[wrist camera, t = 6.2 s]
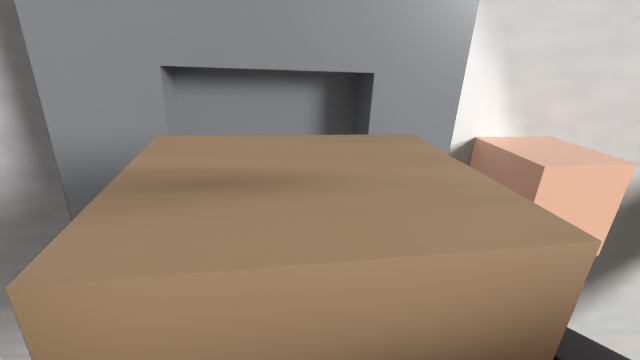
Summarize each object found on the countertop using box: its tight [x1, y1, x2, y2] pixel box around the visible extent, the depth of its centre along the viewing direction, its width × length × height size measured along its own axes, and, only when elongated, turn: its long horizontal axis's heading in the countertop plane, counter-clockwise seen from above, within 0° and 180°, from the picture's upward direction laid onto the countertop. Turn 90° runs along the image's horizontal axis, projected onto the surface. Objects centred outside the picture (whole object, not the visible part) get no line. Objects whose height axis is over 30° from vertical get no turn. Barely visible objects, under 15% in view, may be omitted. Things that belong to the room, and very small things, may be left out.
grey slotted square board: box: [14, 0, 479, 220], centre depth 16 cm, size 16×16×3 cm
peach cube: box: [469, 137, 637, 256], centre depth 18 cm, size 5×5×5 cm
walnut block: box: [5, 134, 602, 360], centre depth 7 cm, size 6×6×5 cm
